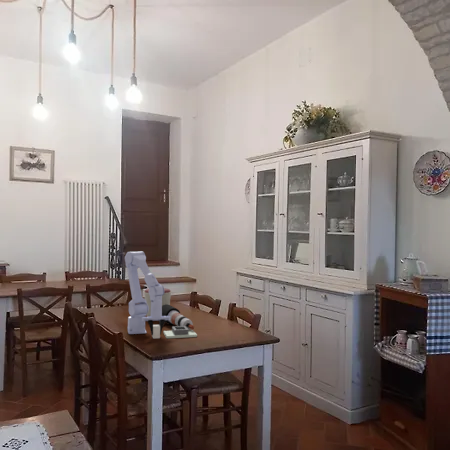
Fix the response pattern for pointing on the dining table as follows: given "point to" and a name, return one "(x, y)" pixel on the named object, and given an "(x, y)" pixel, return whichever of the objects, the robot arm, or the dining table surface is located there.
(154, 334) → the plug
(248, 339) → the dining table surface
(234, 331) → the dining table surface
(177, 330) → the board
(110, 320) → the dining table surface
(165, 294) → the canister
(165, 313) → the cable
